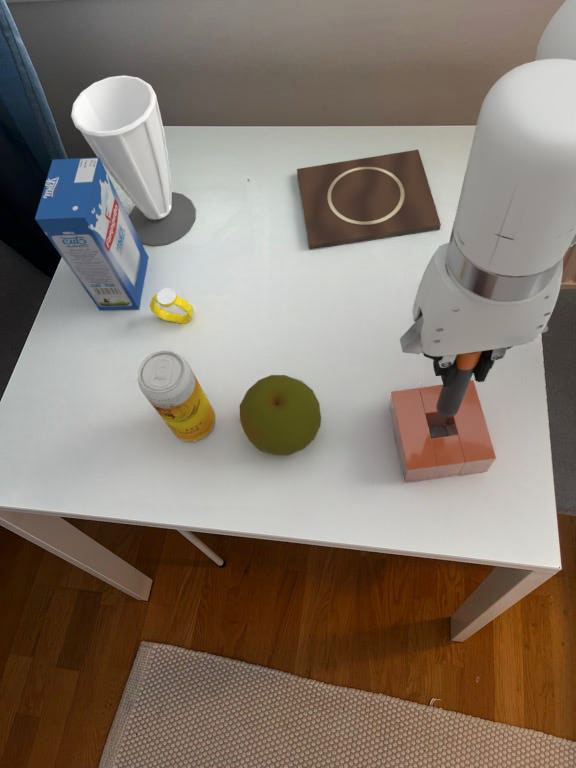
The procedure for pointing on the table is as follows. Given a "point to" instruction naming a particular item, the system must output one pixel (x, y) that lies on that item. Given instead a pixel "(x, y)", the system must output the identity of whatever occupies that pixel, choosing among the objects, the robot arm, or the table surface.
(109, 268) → the milk carton
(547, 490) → the table surface
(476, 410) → the holder
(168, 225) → the cup
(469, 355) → the marker
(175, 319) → the watch
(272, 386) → the apple
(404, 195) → the brown flat wooden board
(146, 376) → the beer can
